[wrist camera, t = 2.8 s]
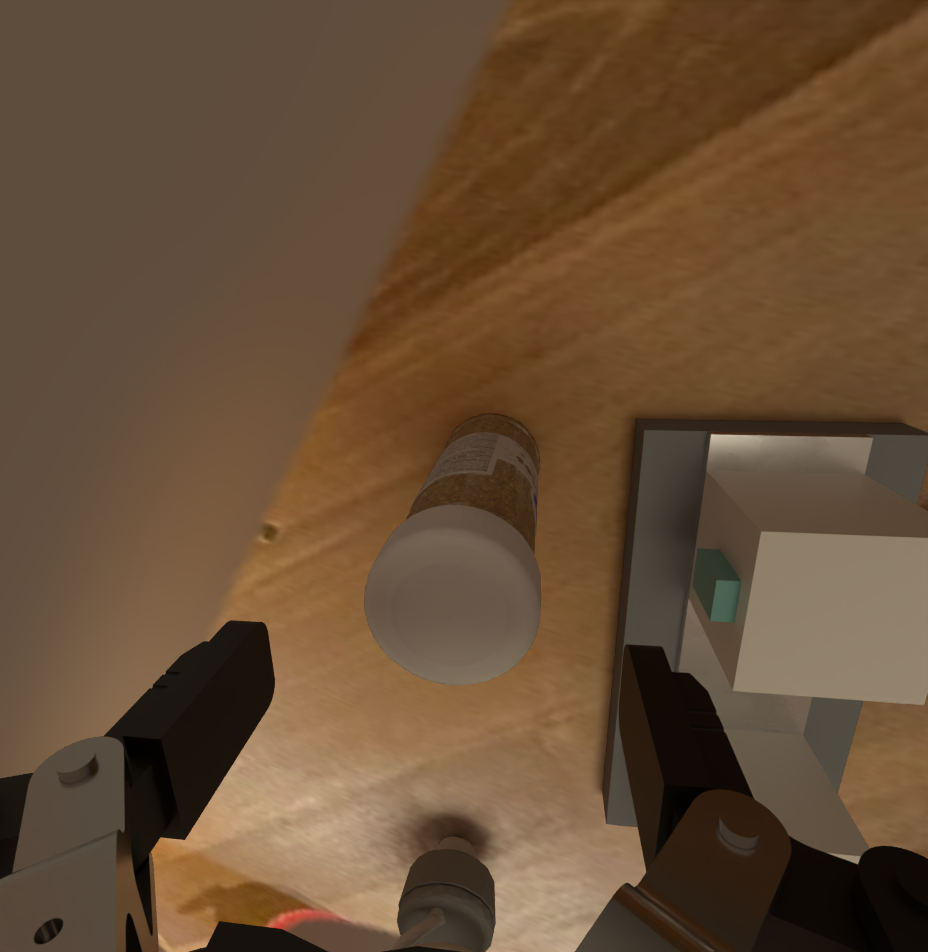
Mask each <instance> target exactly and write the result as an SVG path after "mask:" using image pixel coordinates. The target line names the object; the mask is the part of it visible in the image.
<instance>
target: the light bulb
mask: <svg viewBox="0 0 928 952" xmlns="http://www.w3.org/2000/svg"><path fill="white" fill-rule="evenodd" d="M397 923H398V927H399V932H400V934H401V936H400V937H399V939H398V940H397V941H396V942H395V944H394V945H393V947H392V949H391V950H396V949H402V948H408V947H414V946H421V947H429V948H437V949H445V950H453V951H461V952H485V951H486V950H487V949H488V948H489V947H490V946H491V942H492V937H493V933H494V927H495V924H496V921H495V890H494V880H493V878H492V876H491V874H490V872H489V870H488V868H487V867H486V866H484V865H483V864H482V863H481V862H480V861H479V860H478V859H476V854H475V850H474V848H473V847H472V845H471V844H470V843H469V842H468V841H467V840H465V839H462V838H460V837H455V836H453V837H447V838H445V839H443V840H442V841H440V842H439V844H438V845H437V846H436V850H433V851H429V852H427V853H426V854H424V855H422V856H420V857H419V858H418V859H417V860H416V861H415V862H414V863H413V865H412V866H411V867H410V870H409V873H408V876H407V880H406V883H405V886H404V889H403V892H402V895H401V898H400V902H399V912H398V918H397Z"/></svg>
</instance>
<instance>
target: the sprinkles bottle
mask: <svg viewBox="0 0 928 952" xmlns="http://www.w3.org/2000/svg"><path fill="white" fill-rule="evenodd" d="M539 463H540V456H539V452H538V448H537V445H536V443H535V441H534V439H533V437H532V436H531V435H530V433H529V432H528V430H527V429H526V428H525V427H523V426H522V425H521V424H519V423H518V422H517V421H515V420H513V419H510V418H507V417H505V416H500V415H493V414H484V415H481V416H477V417H473V418H471V419H469V420H467V421H465V422H463V423H462V424H461V425H460V426H459V427H457V428H456V429H455V431H454V432H453V434H452V436H451V437H450V439H449V440H448V442H447V445H446V449H445V450H444V452H443V453H442V454H441V456H440V457H439V459H438V461H437V463H436V464H435V466H434V468H433V470H432V471H431V473H430V475H429V476H428V478H427V480H426V481H425V483H424V485H423V487H422V489H421V490H420V492H419V494H418V496H417V497H416V499H415V501H414V503H413V505H412V507H411V510H410V513H409V515H408V516H407V518H406V520H405V521H404V522H403V523H402V524H401V525H399V526H398V527H397V528H396V529H395V530H394V531H393V533H392V534H391V535H390V537H389V538H388V540H387V541H386V543H385V545H384V546H383V548H382V549H381V551H380V553H379V555H378V557H377V559H376V561H375V563H374V565H373V567H372V569H371V571H370V573H369V575H368V579H367V582H366V586H365V595H364V608H365V614H366V618H367V622H368V625H369V628H370V630H371V632H372V634H373V636H374V638H375V640H376V641H377V643H378V644H379V646H380V647H381V648H382V650H383V651H384V652H385V653H386V654H387V655H388V656H389V657H390V658H391V659H392V660H393V661H394V662H395V663H397V664H398V665H399V666H401V667H402V668H403V669H405V670H407V671H408V672H410V673H412V674H414V675H416V676H418V677H421V678H423V679H426V680H429V681H432V682H436V683H441V684H449V685H470V684H476V683H481V682H485V681H488V680H491V679H493V678H496V677H498V676H500V675H502V674H504V673H505V672H507V671H508V670H510V669H511V668H513V667H514V666H515V665H516V664H517V663H518V662H519V661H520V660H521V659H522V658H523V657H524V655H525V654H526V653H527V651H528V650H529V648H530V647H531V645H532V643H533V641H534V639H535V637H536V634H537V631H538V627H539V621H540V611H541V579H540V571H539V568H538V564H537V561H536V558H535V556H534V549H535V548H534V547H535V535H536V528H537V496H538V478H537V476H538V473H539Z"/></svg>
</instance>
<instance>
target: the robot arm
mask: <svg viewBox="0 0 928 952" xmlns="http://www.w3.org/2000/svg"><path fill="white" fill-rule="evenodd" d="M274 688H275V677H274V670H273V663H272V656H271V649H270V643H269V636H268V630H267V627H266V625H265V624H264V623H263V622H249V621H232V620H231V621H228V622H227V623H226V624H225V625H224V626H223V627H222V628H221V629H220V630H219V631H218V632H217V633H216V634H215V636H214V637H213V638H212V639H211V640H210V641H209V642H205V641H204V642H202V643H200V644H199V645H197V646H195V647H194V648H192V649H191V650H189V651H187V652H186V653H184V654H183V655H181V656H180V657H179V658H178V659H177V660H176V661H175V662H174V663H173V664H172V666H171V667H170V668H169V669H168V670H167V671H166V674H165V675H162V676H161V677H160V678H159V679H158V680H157V681H156V682H155V683H154V684H153V688H152V689H149V690H148V691H147V692H146V693H145V694H144V695H143V696H142V697H141V698H140V699H139V700H138V701H137V702H136V703H135V704H134V705H133V706H132V707H131V708H130V709H129V710H128V711H127V713H125V715H124V716H123V717H122V718H121V719H120V720H119V721H118V722H117V723H116V724H115V725H114V726H113V727H112V728H111V729H110V730H109V731H108V732H107V733H106V734H105V735H104V736H101V737H93V738H88V739H84V740H81V741H78V742H75V743H73V744H71V745H68V746H66V747H64V748H63V749H61V750H59V751H57V752H56V753H54V754H53V755H52V756H50V757H49V758H48V759H46V760H45V761H44V762H43V763H42V764H41V765H40V766H39V767H38V768H37V769H36V771H35V772H34V773H29V774H23V775H18V776H12V777H6V778H1V779H0V952H159V945H158V928H157V911H156V894H155V878H154V862H153V857H152V853H151V850H152V849H153V848H154V846H155V845H156V843H157V842H158V840H159V839H160V837H163V838H172V839H182V840H185V839H186V837H187V836H188V834H189V833H190V831H191V829H192V828H193V826H194V825H195V823H196V822H197V820H198V818H199V817H200V815H201V814H202V812H203V810H204V809H205V807H206V806H207V804H208V803H209V801H210V799H211V798H212V796H213V795H214V793H215V791H216V790H217V788H218V787H219V785H220V784H221V782H222V780H223V779H224V777H225V776H226V774H227V773H228V771H229V769H230V768H231V766H232V765H233V763H234V761H235V760H236V758H237V757H238V755H239V754H240V752H241V750H242V749H243V747H244V746H245V744H246V742H247V741H248V739H249V738H250V736H251V735H252V733H253V731H254V730H255V728H256V727H257V725H258V723H259V722H260V720H261V719H262V717H263V716H264V714H265V712H266V711H267V709H268V707H269V706H270V703H271V701H272V698H273V694H274ZM619 729H620V737H621V742H622V747H623V752H624V758H625V763H626V768H627V773H628V778H629V784H630V789H631V794H632V799H633V804H634V810H635V815H636V820H637V825H638V830H639V836H640V841H641V846H642V851H643V856H644V862H645V867H646V874H645V875H644V877H643V878H642V880H641V881H640V882H639V884H638V885H637V886H636V887H633V886H632V885H630V884H629V883H625V884H624V885H622V886H621V887H620V888H619V889H618V890H617V891H616V893H615V894H614V895H613V897H612V898H611V900H610V901H609V903H608V904H607V905H606V907H605V908H604V910H603V911H602V913H601V914H600V916H599V917H598V919H597V920H596V922H595V923H594V924H593V926H592V927H591V929H590V930H589V932H588V933H587V935H586V936H585V938H584V939H583V940H582V942H581V943H580V945H579V946H578V948H577V949H576V951H575V952H928V859H927V858H925V857H924V856H921V855H919V854H917V853H914V852H912V851H909V850H906V849H902V848H898V847H893V846H877V847H873V848H870V849H868V850H867V851H865V852H864V853H863V854H862V856H861V857H860V860H859V863H858V864H856V863H853V862H850V861H848V860H845V859H842V858H839V857H837V856H834V855H831V854H828V853H826V852H823V851H820V850H817V849H815V848H812V847H810V846H807V845H805V844H803V843H801V842H799V841H797V840H795V839H794V838H792V837H791V836H789V835H788V833H787V831H786V829H785V828H784V826H783V824H782V823H781V822H780V821H779V819H778V818H777V817H776V816H775V815H774V814H773V813H772V812H771V811H770V810H769V809H768V808H766V807H765V806H764V805H763V804H761V803H759V802H758V801H756V800H755V799H754V797H753V795H752V792H751V790H750V788H749V785H748V783H747V781H746V778H745V776H744V774H743V771H742V769H741V767H740V765H739V762H738V760H737V758H736V755H735V753H734V751H733V748H732V746H731V744H730V741H729V739H728V737H727V734H726V733H725V732H724V727H723V725H722V723H721V720H720V718H719V716H718V715H717V711H716V709H715V706H714V704H713V702H712V699H711V697H710V695H709V692H708V691H707V690H706V689H705V688H704V687H703V686H702V685H701V684H700V683H699V682H698V681H697V680H696V679H695V678H694V677H693V676H692V675H691V674H690V673H683V672H672V671H671V668H670V665H669V663H668V660H667V657H666V654H665V651H664V649H663V647H662V646H648V645H631V644H626V645H625V647H624V652H623V663H622V674H621V685H620V696H619ZM190 952H328V951H326V950H324V949H321V948H319V947H317V946H315V945H313V944H311V943H309V942H307V941H305V940H303V939H301V938H299V937H297V936H295V935H293V934H291V933H289V932H287V931H285V930H283V929H277V928H269V927H261V926H253V925H245V924H237V923H229V922H221V921H219V923H218V925H217V927H216V929H215V931H214V933H213V935H212V937H211V939H210V941H209V943H208V945H207V947H205V948H200V949H196V950H193V951H190ZM384 952H461V951H453V950H445V949H437V948H429V947H421V946H414V947H408V948H402V949H396V950H390V951H384Z"/></svg>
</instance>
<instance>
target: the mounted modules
mask: <svg viewBox="0 0 928 952" xmlns="http://www.w3.org/2000/svg"><path fill="white" fill-rule="evenodd" d="M689 600H690V602H691V604H692V606H693V608H694V610H695V613H696V615H697V617H698V619H699V621H700V623H701V625H702V627H703V629H704V631H705V634H706V636H707V638H708V640H709V642H710V644H711V646H712V648H713V650H714V652H715V655H716V657H717V659H718V661H719V663H720V665H721V667H722V669H723V671H724V673H725V676H726V678H727V680H728V682H729V684H730V686H731V688H732V690H733V691H740V692H753V693H767V694H781V695H794V696H808V697H822V698H835V699H849V700H862V701H876V702H890V703H903V704H917V705H924V703H925V700H926V697H927V694H928V511H926V510H924V509H923V508H921V507H919V506H918V505H916V504H914V503H913V502H911V501H909V500H907V499H906V498H904V497H902V496H901V495H899V494H897V493H895V492H894V491H892V490H890V489H889V488H887V487H885V486H884V485H882V484H880V483H878V482H877V481H875V480H873V479H872V478H870V477H868V476H867V475H865V474H832V473H796V472H760V471H723V470H706V476H705V483H704V490H703V498H702V505H701V512H700V519H699V527H698V534H697V541H696V548H695V556H694V563H693V570H692V578H691V585H690V592H689ZM724 732H725V733H726V734H727V737H728V739H729V741H730V744H731V746H732V748H733V751H734V753H735V755H736V758H737V760H738V762H739V765H740V767H741V769H742V771H743V774H744V776H745V778H746V781H747V783H748V785H749V788H750V790H751V792H752V795H753V797H754V799H755V800H756V801H758V802H759V803H761V804H763V805H764V806H765V807H766V808H768V809H769V810H770V811H771V812H772V813H773V814H774V815H775V816H776V817H777V818H778V819H779V821H780V822H781V823H782V824H783V826H784V828H785V829H786V831H787V833H788V835H789V836H791V837H792V838H794V839H795V840H797V841H799V842H801V843H803V844H805V845H807V846H810V847H812V848H815V849H817V850H820V851H823V852H826V853H828V854H831V855H834V856H837V857H839V858H842V859H845V860H848V861H850V862H853V863H856V864H858V863H859V860H860V857H861V856H862V854H863V853H864V852H865V851H867V850H868V849H870V848H869V846H868V845H867V843H866V841H865V840H864V838H863V836H862V835H861V833H860V831H859V829H858V828H857V826H856V824H855V823H854V821H853V819H852V817H851V816H850V814H849V812H848V811H847V809H846V807H845V805H844V804H843V802H842V800H841V799H840V797H839V795H838V794H837V792H836V790H835V788H834V787H833V785H832V783H831V782H830V780H829V778H828V776H827V775H826V773H825V771H824V770H823V768H822V766H821V764H820V763H819V761H818V759H817V758H816V756H815V754H814V753H813V751H812V749H811V747H810V746H809V744H808V742H807V741H806V739H805V737H804V735H798V734H785V733H773V732H761V731H748V730H736V729H724Z"/></svg>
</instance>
